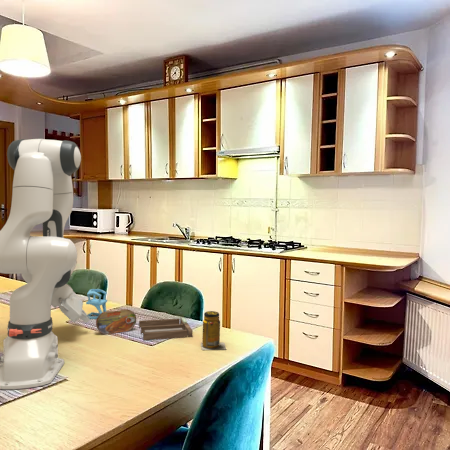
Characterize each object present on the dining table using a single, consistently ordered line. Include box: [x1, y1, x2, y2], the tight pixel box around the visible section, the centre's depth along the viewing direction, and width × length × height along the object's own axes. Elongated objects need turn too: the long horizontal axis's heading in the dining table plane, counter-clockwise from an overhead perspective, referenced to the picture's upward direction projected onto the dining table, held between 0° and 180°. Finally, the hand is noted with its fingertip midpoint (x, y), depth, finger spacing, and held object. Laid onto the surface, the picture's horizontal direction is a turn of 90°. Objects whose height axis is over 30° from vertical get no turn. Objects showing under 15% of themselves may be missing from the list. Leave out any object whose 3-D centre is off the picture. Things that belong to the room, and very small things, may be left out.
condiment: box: [200, 310, 227, 351], centre depth 147 cm, size 7×8×12 cm
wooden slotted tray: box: [138, 317, 194, 341], centre depth 162 cm, size 16×18×3 cm
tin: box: [95, 308, 137, 335], centre depth 160 cm, size 15×3×8 cm, turn 121°
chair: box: [85, 288, 108, 320], centre depth 177 cm, size 8×8×12 cm
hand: (88, 320), depth 157 cm, fingers closed
